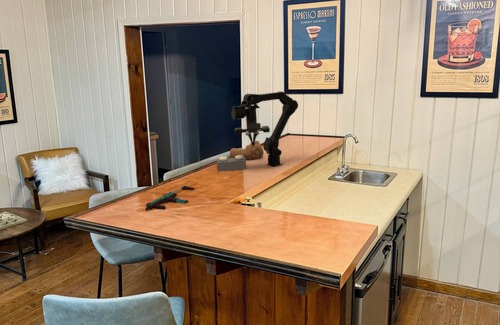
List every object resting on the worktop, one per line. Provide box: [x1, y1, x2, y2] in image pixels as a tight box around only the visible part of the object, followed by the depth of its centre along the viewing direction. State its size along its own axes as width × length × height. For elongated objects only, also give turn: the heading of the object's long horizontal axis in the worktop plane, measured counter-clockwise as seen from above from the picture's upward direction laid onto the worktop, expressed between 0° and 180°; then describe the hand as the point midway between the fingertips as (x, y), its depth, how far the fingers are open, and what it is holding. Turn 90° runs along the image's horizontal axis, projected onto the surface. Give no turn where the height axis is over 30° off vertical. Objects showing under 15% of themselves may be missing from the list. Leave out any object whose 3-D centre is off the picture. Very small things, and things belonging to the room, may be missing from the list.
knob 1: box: [218, 156, 228, 161], centre depth 231 cm, size 5×5×6 cm
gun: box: [144, 185, 196, 211], centre depth 184 cm, size 32×2×15 cm
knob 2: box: [235, 155, 243, 160], centre depth 232 cm, size 5×5×6 cm
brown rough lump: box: [229, 140, 264, 160], centre depth 253 cm, size 19×11×15 cm
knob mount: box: [216, 157, 247, 172], centre depth 232 cm, size 16×8×5 cm, turn 93°
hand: (253, 145), depth 225 cm, fingers closed
